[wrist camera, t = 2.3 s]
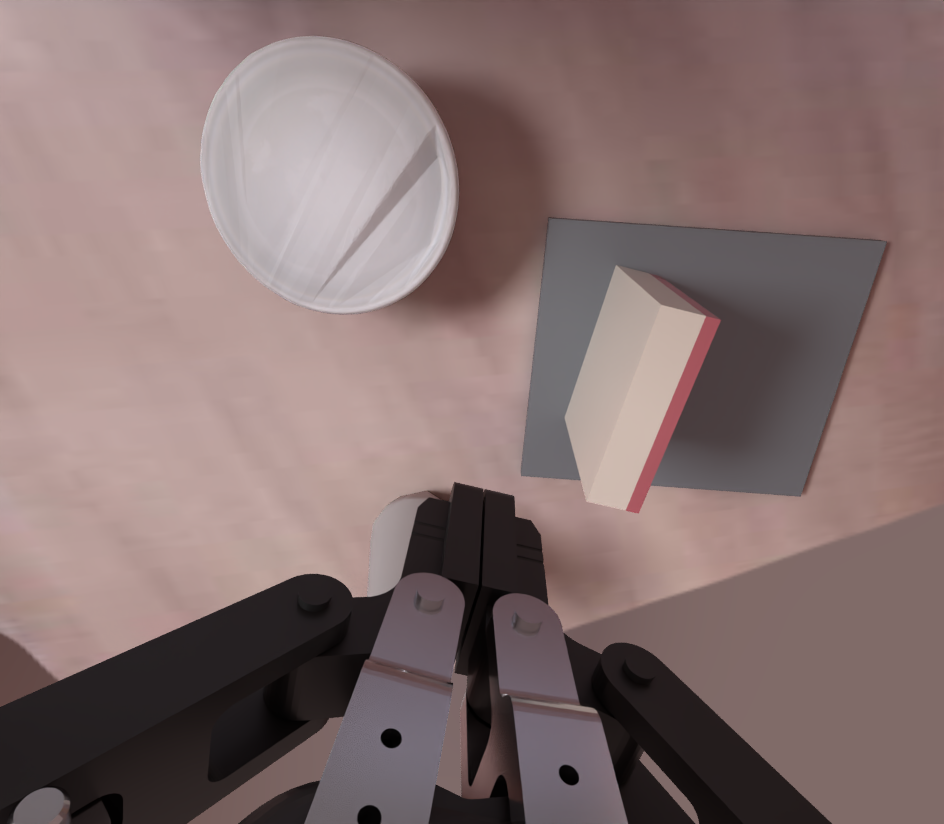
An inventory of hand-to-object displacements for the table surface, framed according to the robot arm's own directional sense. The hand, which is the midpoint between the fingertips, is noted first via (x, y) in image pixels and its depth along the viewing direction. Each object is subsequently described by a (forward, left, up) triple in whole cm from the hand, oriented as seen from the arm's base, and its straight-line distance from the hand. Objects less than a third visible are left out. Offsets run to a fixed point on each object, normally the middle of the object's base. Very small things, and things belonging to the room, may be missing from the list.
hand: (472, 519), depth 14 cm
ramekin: (-7, -7, -20) cm, 22 cm away
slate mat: (+2, +11, -20) cm, 23 cm away
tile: (+1, +7, -19) cm, 20 cm away
